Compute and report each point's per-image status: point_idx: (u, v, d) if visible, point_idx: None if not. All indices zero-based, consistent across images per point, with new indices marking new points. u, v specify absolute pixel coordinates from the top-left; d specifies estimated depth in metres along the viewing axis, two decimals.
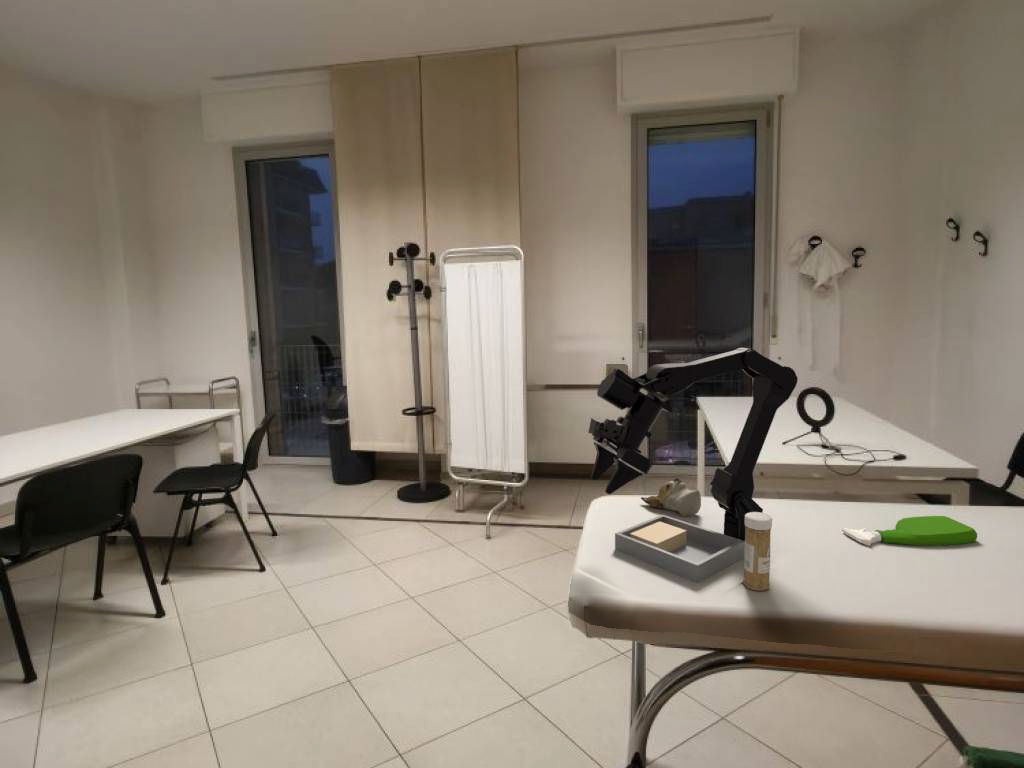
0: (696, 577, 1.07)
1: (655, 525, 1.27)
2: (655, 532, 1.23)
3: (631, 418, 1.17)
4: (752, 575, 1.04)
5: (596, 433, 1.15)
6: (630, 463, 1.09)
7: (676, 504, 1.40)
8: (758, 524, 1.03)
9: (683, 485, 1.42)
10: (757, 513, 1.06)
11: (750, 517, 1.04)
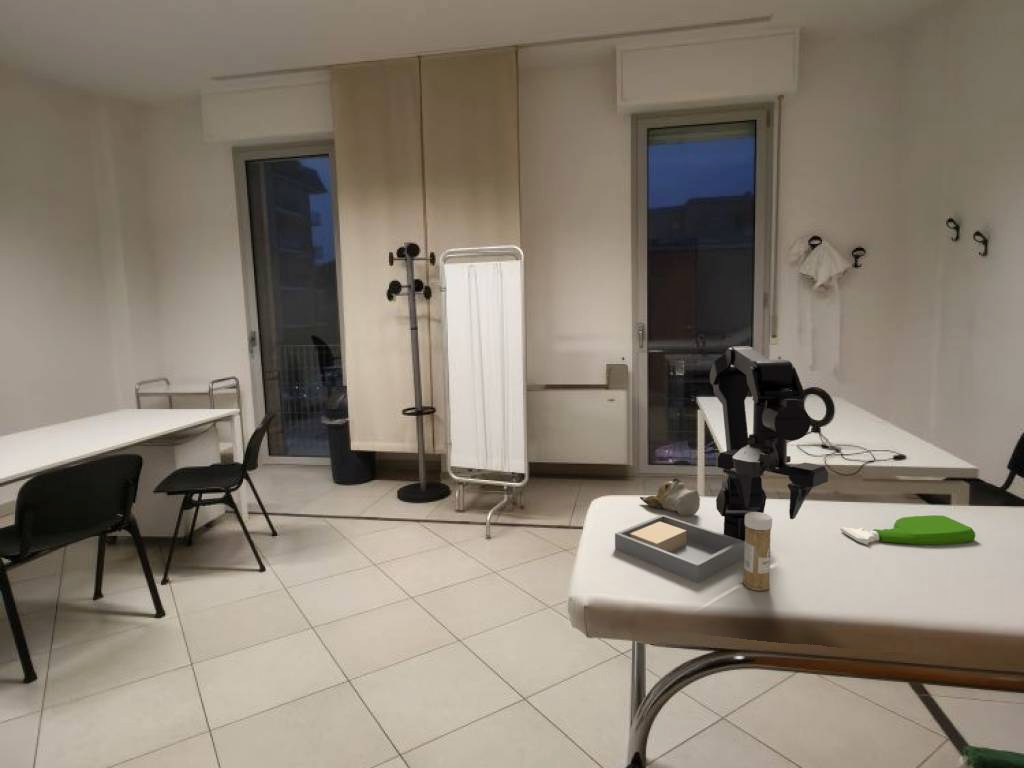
0: (696, 577, 1.07)
1: (655, 525, 1.27)
2: (655, 532, 1.23)
3: (771, 434, 1.03)
4: (752, 575, 1.04)
5: (757, 473, 1.00)
6: (816, 484, 0.98)
7: (674, 504, 1.40)
8: (758, 524, 1.03)
9: (682, 485, 1.42)
10: (757, 513, 1.06)
11: (750, 517, 1.04)
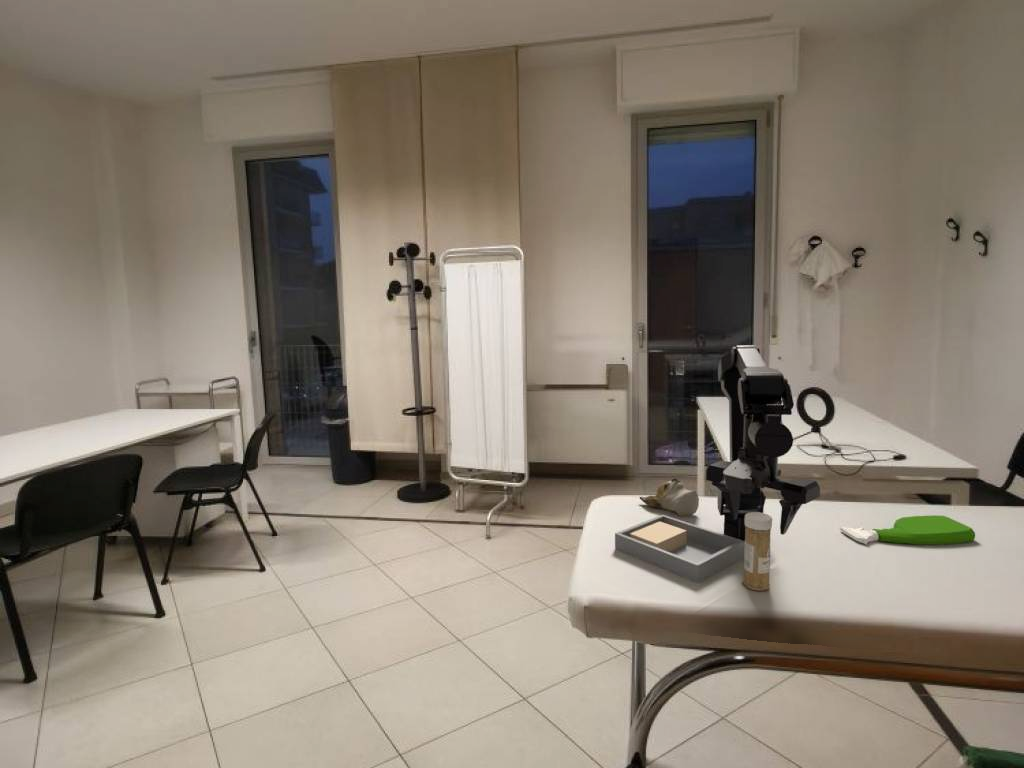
0: (696, 577, 1.07)
1: (655, 525, 1.27)
2: (655, 532, 1.23)
3: None
4: (752, 575, 1.04)
5: (748, 490, 0.97)
6: (809, 500, 0.96)
7: (673, 504, 1.40)
8: (758, 524, 1.03)
9: (681, 485, 1.42)
10: (757, 513, 1.06)
11: (750, 517, 1.04)
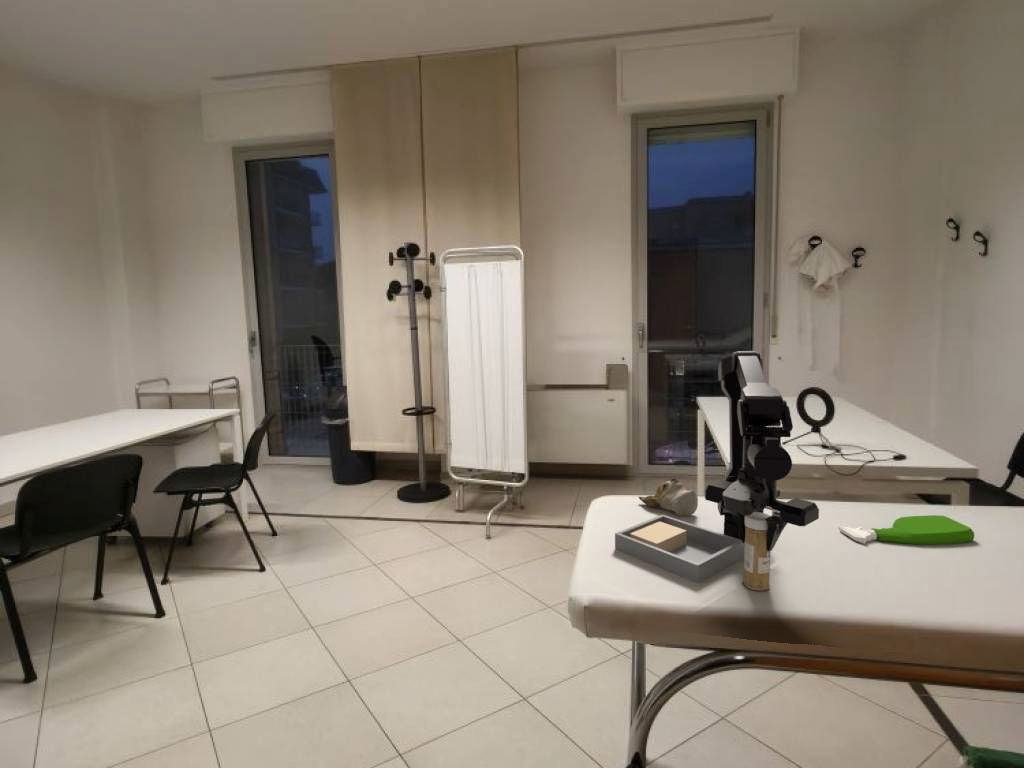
0: (696, 577, 1.07)
1: (655, 525, 1.27)
2: (655, 532, 1.23)
3: None
4: (752, 576, 1.04)
5: (748, 511, 0.98)
6: (808, 522, 0.96)
7: (672, 504, 1.40)
8: (758, 524, 1.03)
9: (680, 485, 1.42)
10: (757, 513, 1.06)
11: (750, 517, 1.04)
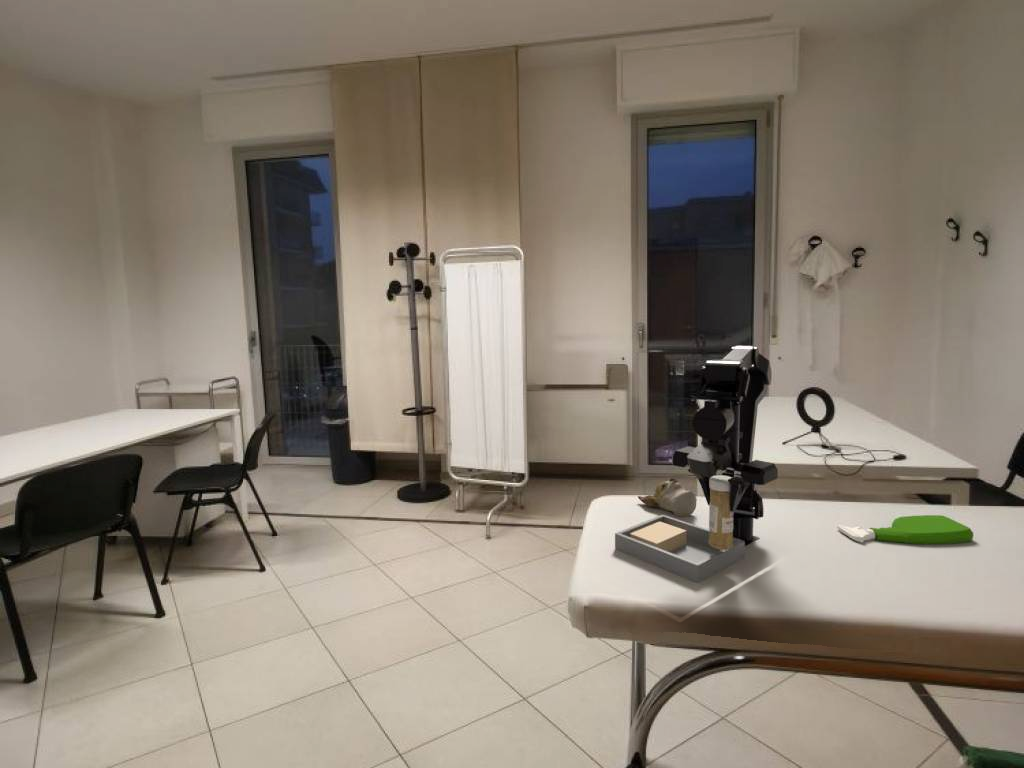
0: (696, 577, 1.07)
1: (655, 525, 1.27)
2: (655, 532, 1.23)
3: (724, 433, 1.06)
4: (716, 535, 1.10)
5: (710, 472, 1.03)
6: (767, 481, 1.01)
7: (670, 504, 1.40)
8: (722, 486, 1.08)
9: (679, 485, 1.42)
10: (721, 476, 1.11)
11: (714, 479, 1.09)
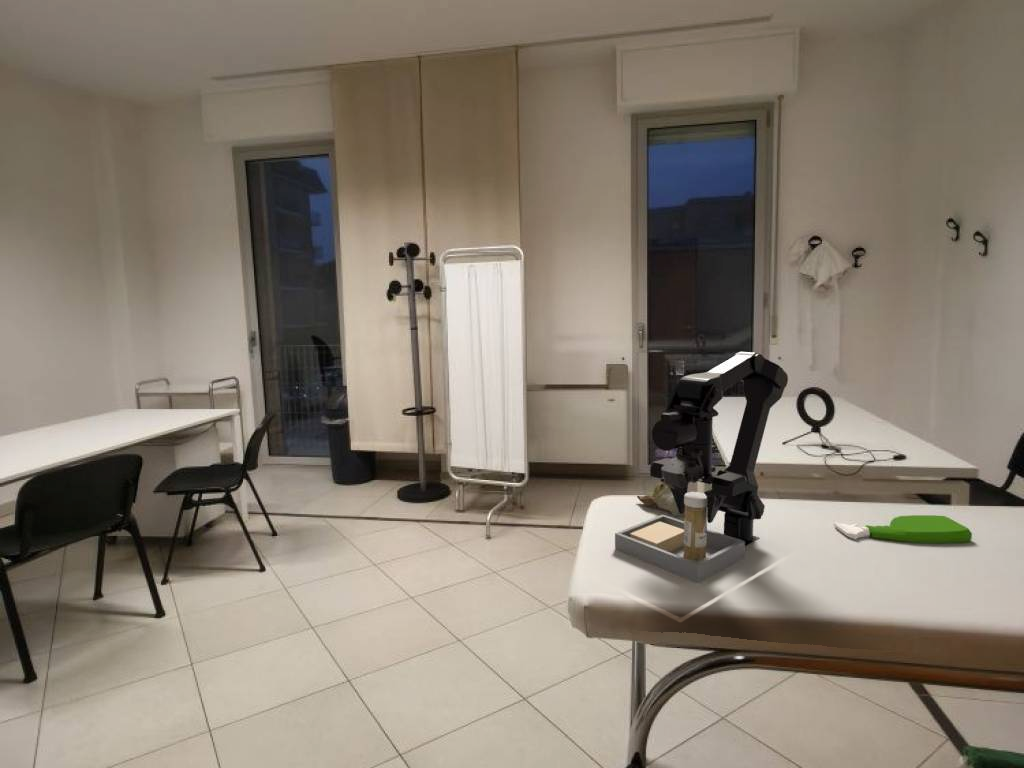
0: (696, 577, 1.07)
1: (655, 525, 1.27)
2: (655, 532, 1.23)
3: (696, 446, 1.10)
4: (690, 549, 1.15)
5: (682, 484, 1.08)
6: (736, 493, 1.06)
7: (668, 504, 1.40)
8: (695, 503, 1.13)
9: None
10: (696, 493, 1.16)
11: (688, 496, 1.14)
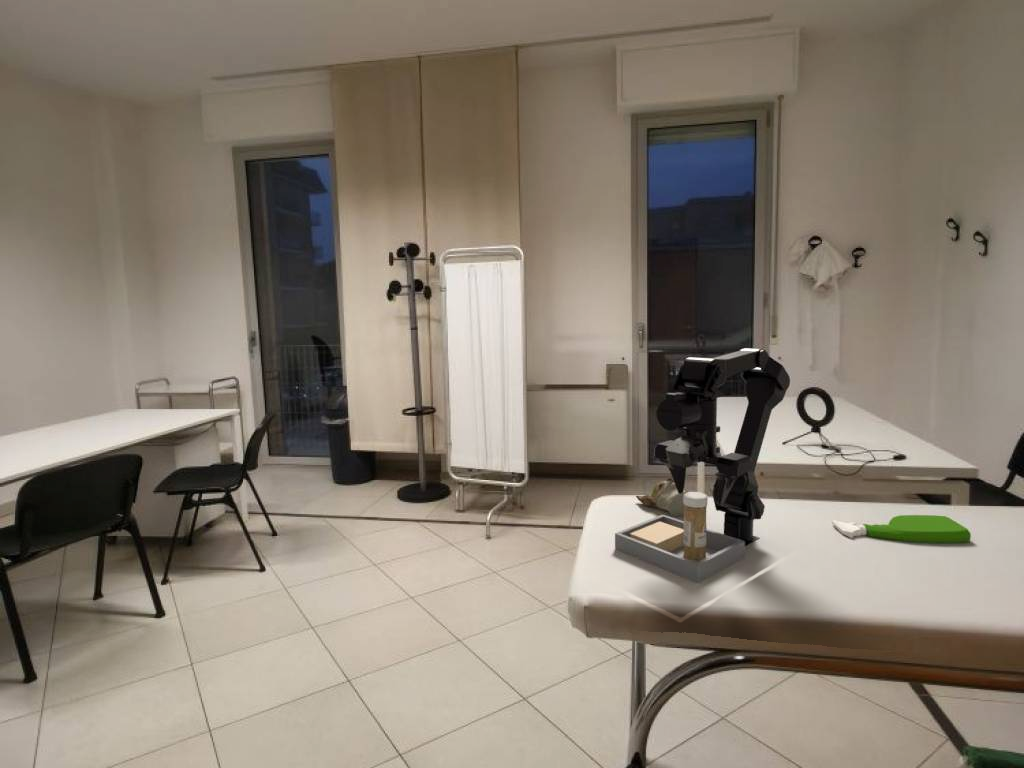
0: (696, 577, 1.07)
1: (655, 525, 1.27)
2: (655, 532, 1.23)
3: (701, 427, 1.11)
4: (690, 549, 1.15)
5: (687, 464, 1.08)
6: (740, 473, 1.06)
7: (666, 504, 1.40)
8: (694, 502, 1.13)
9: None
10: (695, 492, 1.16)
11: (688, 496, 1.14)
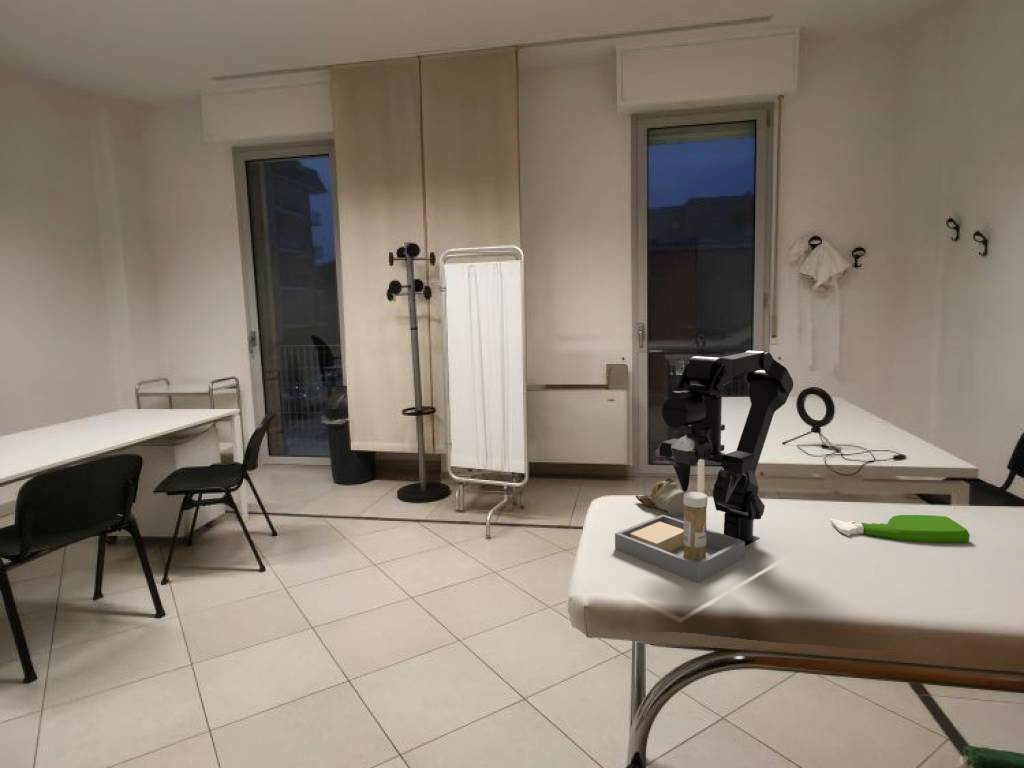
0: (696, 577, 1.07)
1: (655, 525, 1.27)
2: (655, 532, 1.23)
3: (706, 425, 1.12)
4: (690, 549, 1.15)
5: (692, 461, 1.09)
6: (745, 470, 1.07)
7: (665, 503, 1.40)
8: (694, 502, 1.13)
9: (675, 485, 1.42)
10: (695, 492, 1.16)
11: (688, 496, 1.14)
